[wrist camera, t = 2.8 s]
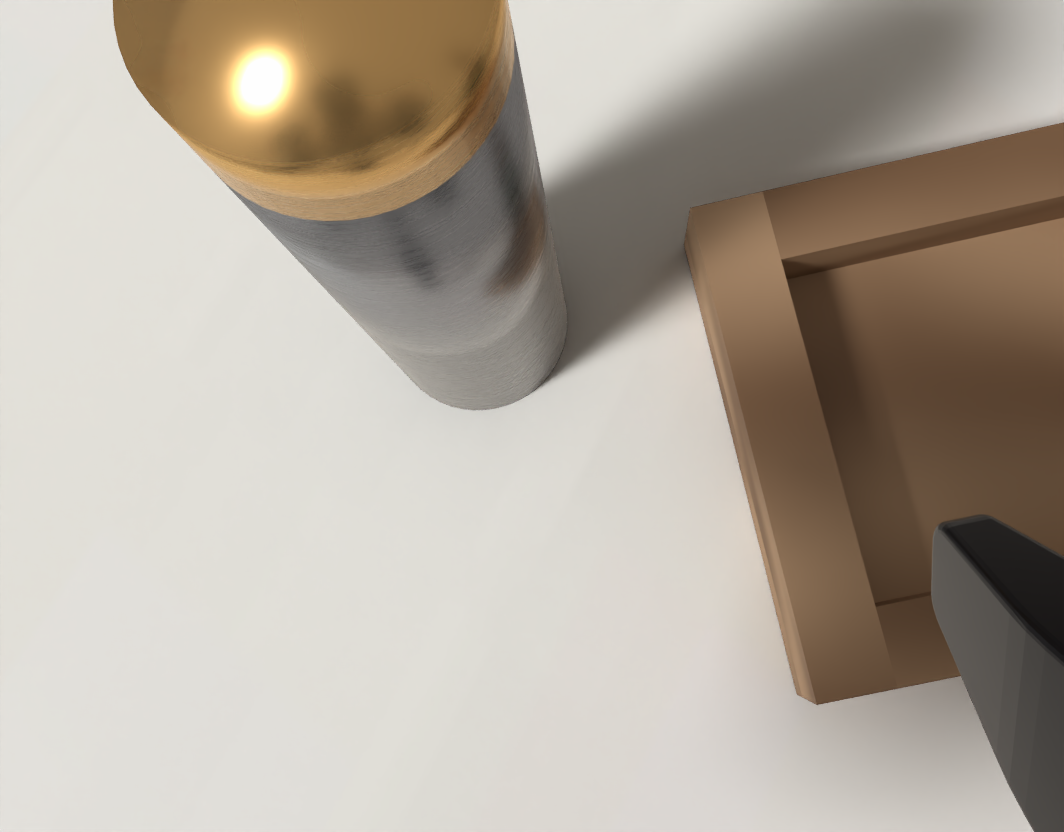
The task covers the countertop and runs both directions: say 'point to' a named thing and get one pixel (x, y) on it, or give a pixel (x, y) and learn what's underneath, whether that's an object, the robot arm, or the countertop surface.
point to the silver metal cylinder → (377, 167)
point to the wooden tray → (888, 386)
